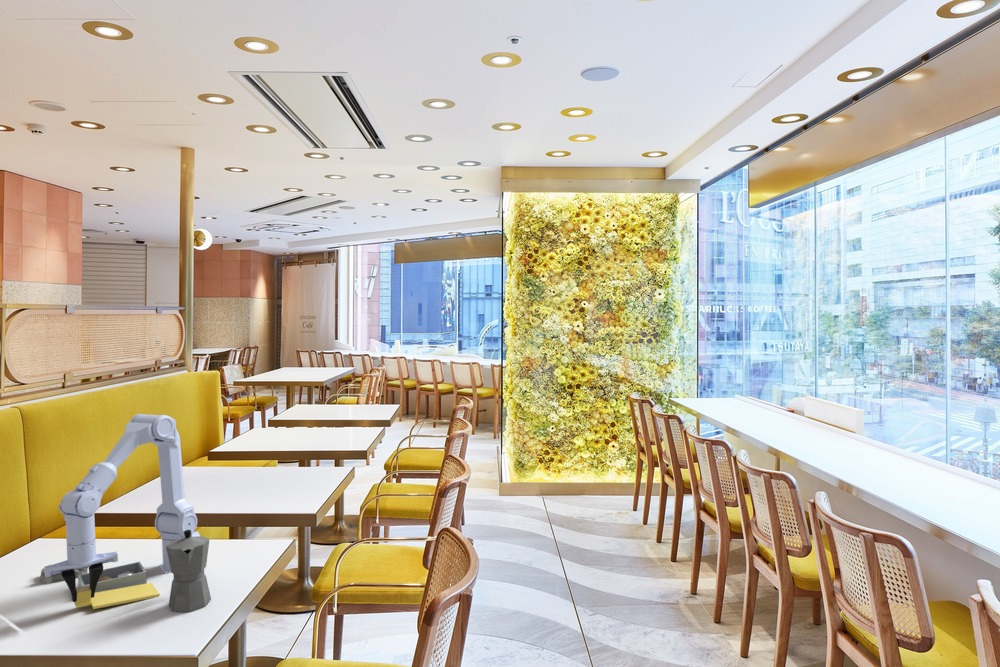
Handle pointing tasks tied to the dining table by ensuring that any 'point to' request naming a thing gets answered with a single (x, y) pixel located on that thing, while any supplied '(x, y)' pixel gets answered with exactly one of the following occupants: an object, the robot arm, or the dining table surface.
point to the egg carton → (59, 575)
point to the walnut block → (104, 578)
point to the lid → (115, 596)
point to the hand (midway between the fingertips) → (83, 598)
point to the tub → (116, 578)
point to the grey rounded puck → (125, 573)
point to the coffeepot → (188, 573)
